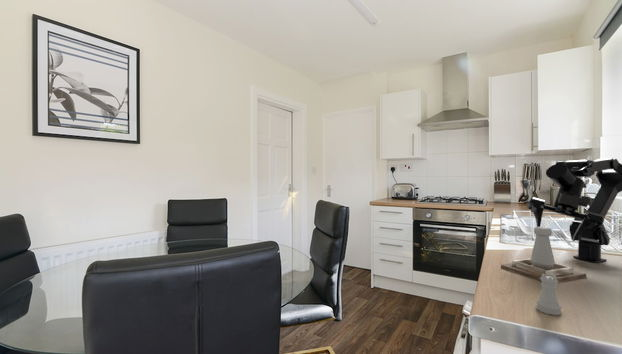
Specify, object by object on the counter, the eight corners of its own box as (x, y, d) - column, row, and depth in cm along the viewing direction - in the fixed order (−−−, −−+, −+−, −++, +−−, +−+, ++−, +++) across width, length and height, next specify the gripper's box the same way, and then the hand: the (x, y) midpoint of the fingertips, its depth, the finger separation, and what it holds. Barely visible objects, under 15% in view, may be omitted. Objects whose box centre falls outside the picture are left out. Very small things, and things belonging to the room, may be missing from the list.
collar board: (536, 262, 97) (536, 255, 97) (586, 277, 83) (586, 268, 83) (501, 267, 92) (501, 259, 92) (548, 283, 79) (548, 274, 79)
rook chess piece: (530, 306, 65) (531, 272, 65) (548, 306, 66) (548, 271, 65) (548, 316, 61) (548, 279, 61) (567, 315, 61) (568, 279, 61)
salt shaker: (538, 265, 91) (538, 225, 91) (559, 270, 86) (559, 228, 86) (526, 267, 89) (526, 226, 89) (546, 273, 84) (547, 229, 84)
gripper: (539, 175, 94) (524, 217, 92) (617, 193, 83) (602, 241, 81) (533, 188, 103) (520, 226, 100) (603, 205, 92) (590, 249, 89)
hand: (555, 235), depth 92 cm, fingers open, 9 cm apart
